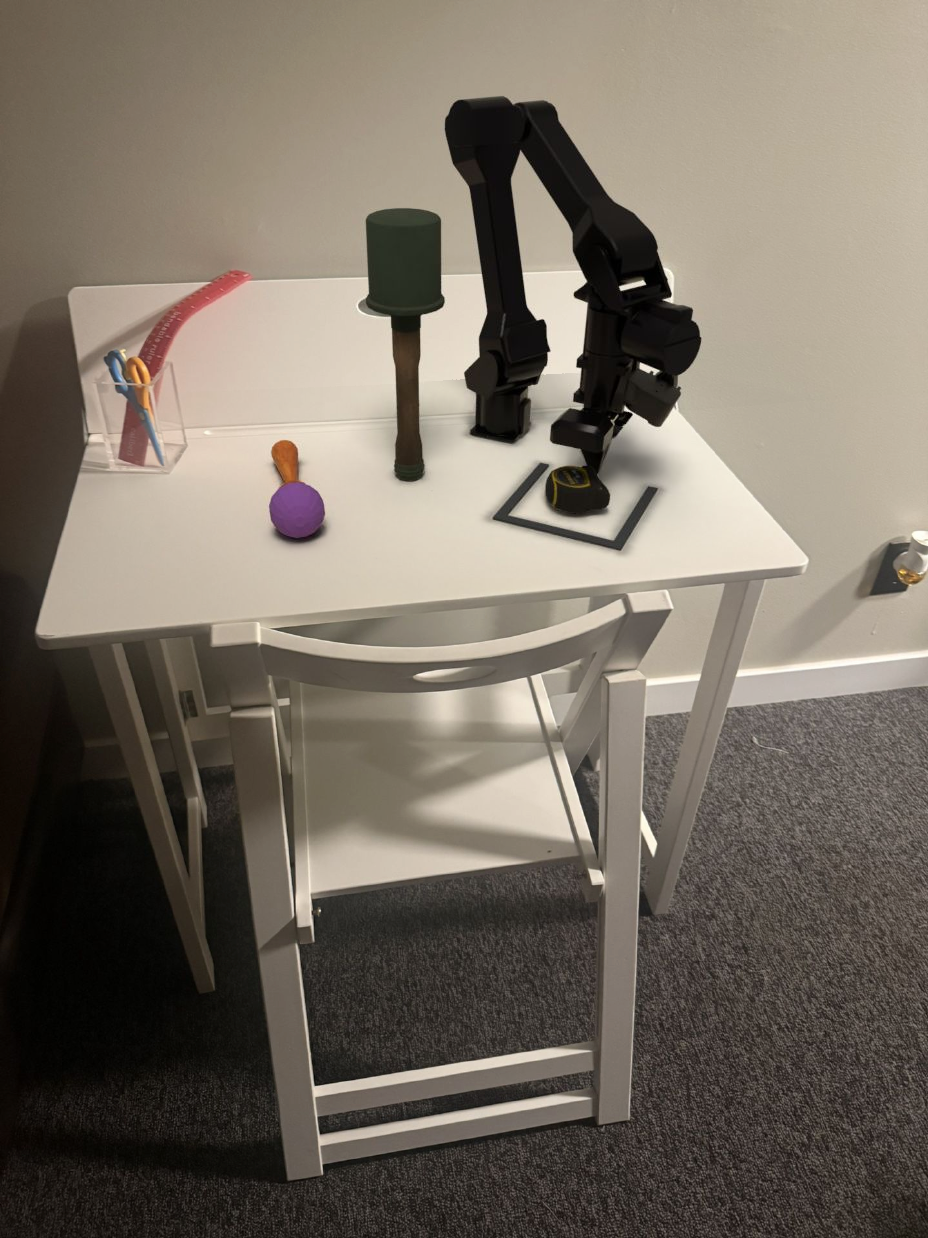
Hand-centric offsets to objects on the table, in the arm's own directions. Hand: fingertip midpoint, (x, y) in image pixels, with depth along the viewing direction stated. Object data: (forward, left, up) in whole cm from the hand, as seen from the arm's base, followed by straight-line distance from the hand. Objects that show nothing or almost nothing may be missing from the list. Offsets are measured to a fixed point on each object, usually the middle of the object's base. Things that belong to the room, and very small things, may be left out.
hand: (594, 472), depth 110 cm
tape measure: (0, -6, -1) cm, 6 cm away
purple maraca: (-30, -21, -1) cm, 37 cm away
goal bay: (0, -6, -1) cm, 6 cm away
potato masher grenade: (-21, -9, -1) cm, 23 cm away
